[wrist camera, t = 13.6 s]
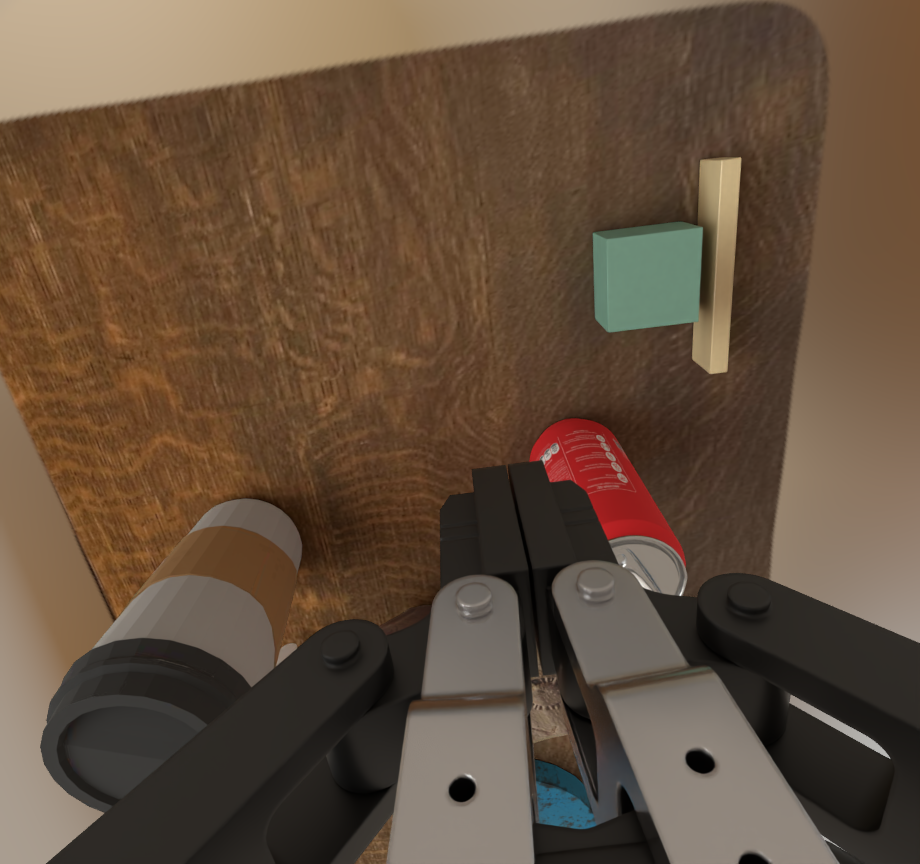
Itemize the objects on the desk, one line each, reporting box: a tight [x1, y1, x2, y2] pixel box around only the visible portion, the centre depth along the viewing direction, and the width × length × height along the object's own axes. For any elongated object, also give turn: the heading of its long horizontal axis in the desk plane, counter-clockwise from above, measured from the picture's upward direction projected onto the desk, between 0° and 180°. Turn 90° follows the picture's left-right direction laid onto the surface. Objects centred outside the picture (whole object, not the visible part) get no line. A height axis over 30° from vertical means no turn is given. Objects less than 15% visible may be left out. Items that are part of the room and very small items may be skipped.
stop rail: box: [692, 157, 741, 374], centre depth 29 cm, size 10×1×2 cm, turn 7°
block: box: [593, 221, 703, 333], centre depth 29 cm, size 4×4×3 cm
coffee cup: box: [40, 498, 302, 813], centre depth 30 cm, size 8×8×15 cm
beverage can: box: [529, 418, 687, 596], centre depth 29 cm, size 5×5×12 cm
